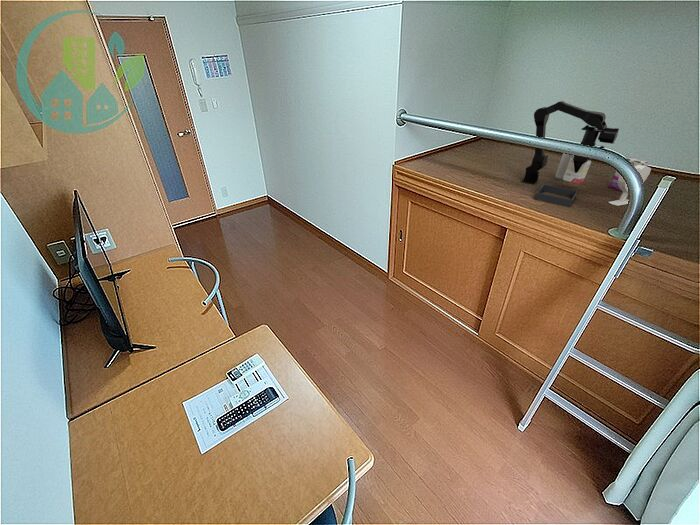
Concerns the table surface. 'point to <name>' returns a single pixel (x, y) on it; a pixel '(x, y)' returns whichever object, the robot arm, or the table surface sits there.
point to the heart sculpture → (622, 184)
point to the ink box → (578, 176)
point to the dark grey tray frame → (553, 198)
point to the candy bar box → (616, 176)
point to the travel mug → (563, 166)
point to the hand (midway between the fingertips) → (576, 171)
